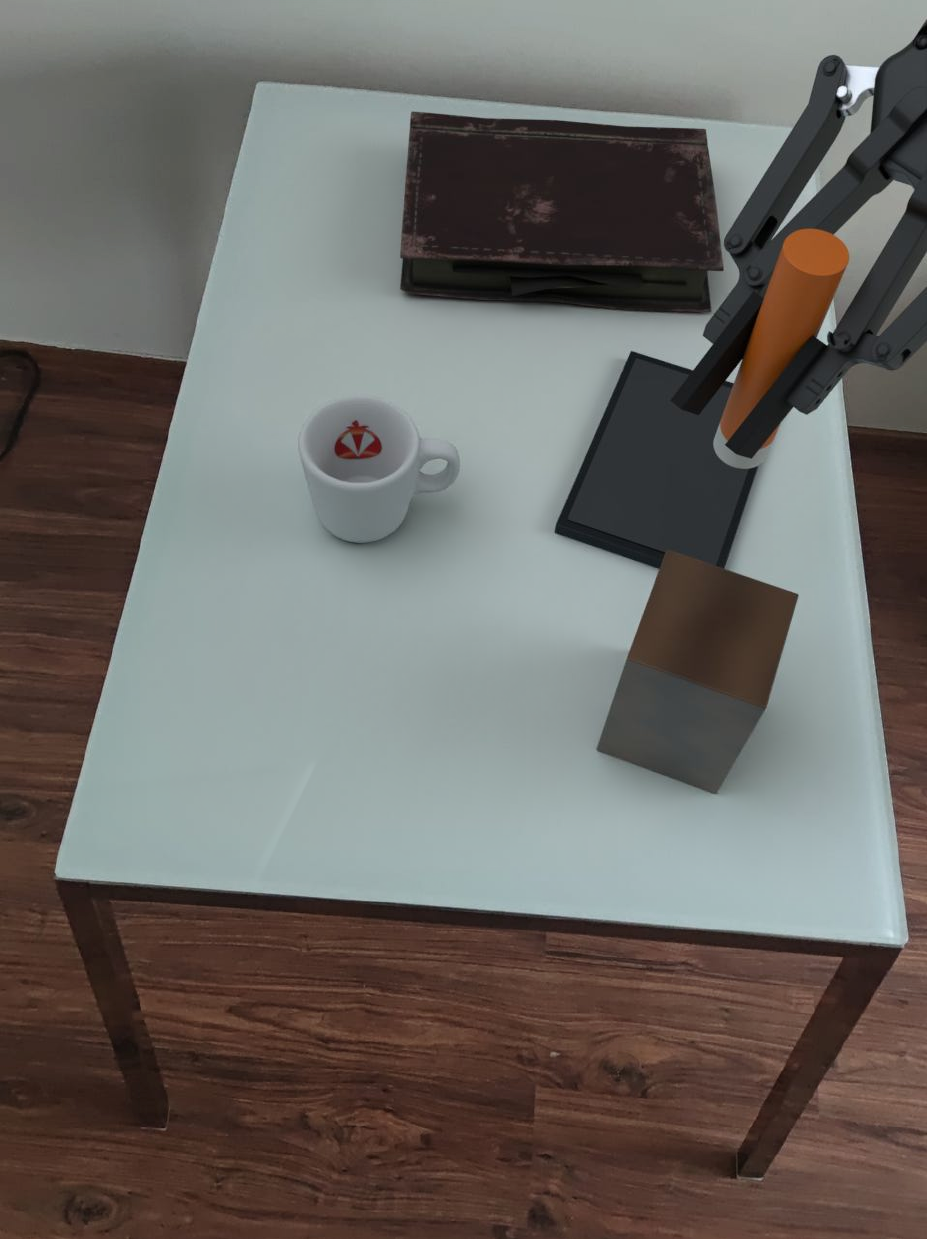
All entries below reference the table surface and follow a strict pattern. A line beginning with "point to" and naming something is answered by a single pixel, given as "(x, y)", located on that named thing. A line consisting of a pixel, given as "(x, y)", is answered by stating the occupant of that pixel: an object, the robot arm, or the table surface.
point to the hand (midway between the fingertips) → (711, 429)
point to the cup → (368, 465)
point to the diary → (559, 213)
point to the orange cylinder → (782, 328)
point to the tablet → (657, 474)
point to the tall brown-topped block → (698, 671)
